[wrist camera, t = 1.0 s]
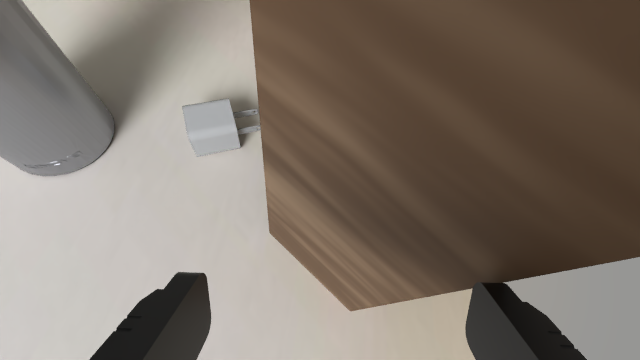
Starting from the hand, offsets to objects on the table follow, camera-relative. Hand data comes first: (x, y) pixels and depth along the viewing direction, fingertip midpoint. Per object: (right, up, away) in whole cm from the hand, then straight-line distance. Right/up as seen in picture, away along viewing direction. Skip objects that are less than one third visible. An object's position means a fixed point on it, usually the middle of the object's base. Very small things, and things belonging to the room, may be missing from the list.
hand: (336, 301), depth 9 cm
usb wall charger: (-10, +8, +24) cm, 27 cm away
